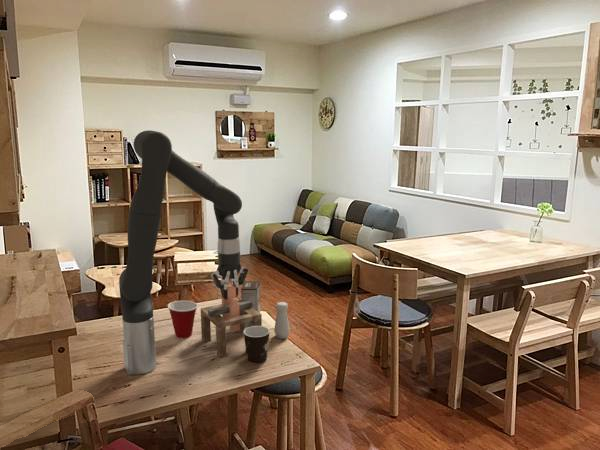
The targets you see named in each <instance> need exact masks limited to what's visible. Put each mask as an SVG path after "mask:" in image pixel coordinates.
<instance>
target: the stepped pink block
mask: <svg viewBox="0 0 600 450" xmlns="http://www.w3.org/2000/svg"><path fill="white" fill-rule="evenodd" d="M227 297H228V299H227V300H225V299H224V298H223V297H222V296H221V304H222V306H227V305H229V306H230V313H226V314H222V315H221V316H222V317H223V318H224V319H229V318H233V317H238V316H240V314H239V303H238V300H239V299H238V297H236V287H235V286H233V284H229V285H227ZM235 297H236V298H235ZM238 330H240V324H235V325H231V326H229V331H230V332H231V333H234V332H236V331H238Z"/></svg>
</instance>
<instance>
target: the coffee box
mask: <svg viewBox="0 0 600 450" xmlns="http://www.w3.org/2000/svg"><path fill="white" fill-rule="evenodd" d="M241 286H242V287H241V291H240V292H241V300H242V301H244V302H246V301H251V302H252V308H253V309H255V310H256V311H258V312H259V313H261V281H260V280H245V281H244V283H243V285H241ZM244 315H245V314H244ZM251 326H252V321H248V322H245V329H246V328H248V327H251Z"/></svg>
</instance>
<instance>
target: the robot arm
mask: <svg viewBox="0 0 600 450" xmlns="http://www.w3.org/2000/svg"><path fill="white" fill-rule="evenodd" d="M172 146H173V144H172V141H171V139H170V138H169V137H168V135H166V134H164V133H163V132H161V131H156V130H152V129H151V130H144V131H141V132H139V133H137V135H136V136H135V137H134V139H133V149H134V152H135V153H136V155H137V157H139V158H140V159H141V170H140V172H141V173H140V177H139V178H140V179H139V181H138V183H137V186H136V188H135V191H134V193H133V196H132V199H131V201H130V204H129V210H128V218H127V248H128V249H127V251H128V252H127V262H126V265H125V267H126V268H125V269H124V270H122V272H121V273H120V276H119V280H118V285H119V296H120V297H119V299H120V300H119V301H120V308H121V309H120V310H121V316H122V327H123V328H122V329H123V330H122V331H123V340H122V349H123V350H122V352H123V353H122V354H123V363H124V365H123V366H124V368H125V370H126V372H127V374H128V375H129V376H131V375H144V374H148V373H150V372H153V370H155V368H156V367H157V353H156V341H155V340H156V339H155V338H156V337H155V321H154V309H153V301H152V289H153V273H154V272H153V268H154V267H153V265H154V256H155V251H156V248H157V247H156V246H157V242H158V237H159V230H160V226H161V217H162V209H163V200H164V192H165V183H166V177H167V173H169V174H170V175H172V176H173V177H175V178H176V179H177V180H179V181H180V182H181V183H183V185H185V186H186V187H188V188H189V189H190V190H192V191H193V192H194V193H196V195H199V196H200V198H203V199H205V200H206V201H209V202H211V203H212V204H213V205H212V206H213V212H214V216H215V220H216V224H217V261H218V262H217V264H218V265H217V269H216V271H214V272H210V277H211V278H212V281H213V283H214V284H215V286H216V287H217V288H218V289H219V290H221V298H222V297H223V298H224V299H225V300H227V299H228V297H227V286H228V284H229V283H230V282H229V281H230V280H231V283H232V285H233V286H235V287H236V297H235V298H238V296H239V287H240V286H243V283H244V281H246V277H247V275H248V272H249V269H248V268H247V267H245V266H242V265H241V245H240V244H241V241H240V226H239V222H238V221H237V220H236V219H235V217H234V215H235V214H237V213H239V212H240V211H241V209H242V206H243V202H242V199H241V197H240V196H239V195H238V194H237V193H235V192H234V191H232V190H231V189H230V188H227V187H225V186H224V185H223V184H222V183H221V184H220V182H218V181H217V180H216V179H215V178H214V177H212V176H211V175H209V174H208V173H207V172H206V171H204V170H203V169H201V168H200V167H198V166H196V165H194V164H193V163H191V162H189V161H188V160H186V159H184V158H183V157H182V156H181V155H179V154H177V153H176V152H175V151H174V150H173V147H172ZM238 275H239V276H238ZM219 276H220V277H221V280H220V279H219ZM220 281H221V282H220Z"/></svg>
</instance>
